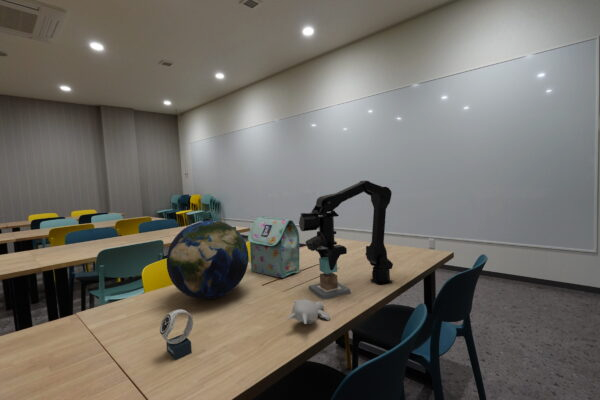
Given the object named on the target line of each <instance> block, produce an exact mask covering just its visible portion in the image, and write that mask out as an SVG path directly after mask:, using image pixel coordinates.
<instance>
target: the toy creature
mask: <svg viewBox="0 0 600 400" xmlns="http://www.w3.org/2000/svg"><path fill="white" fill-rule="evenodd" d="M293 302H294V304H293V306H292V309H291V314H290V315H289V316H288V317H287V318H285V321H288V320H290V319H294V320H297V321H298V322H300V323H303V324H304V325H311V324H313V323H314V322H315V321H317V319H318V316H319V317H320V318H322V319H324V320H326V321H329V320H330V319H331V317H330V315H329V314H328V313H327V312H325V311H324V310H323V309H324V308H325V305H324V302H322V301H315V302H314V301H312V300H310V299H300V300H299V299H294V300H293Z"/></svg>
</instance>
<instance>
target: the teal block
mask: <svg viewBox="0 0 600 400" xmlns="http://www.w3.org/2000/svg"><path fill="white" fill-rule="evenodd" d="M318 262H319V264H318V265H319V271H320V272H322V273H325V274H328V273H337V272H338V261H337V262H336V265H335V267H334V269H333V270H330V266H329V259H328V257H322V258H321V257H318Z"/></svg>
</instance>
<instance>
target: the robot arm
mask: <svg viewBox="0 0 600 400" xmlns="http://www.w3.org/2000/svg"><path fill="white" fill-rule="evenodd" d="M363 193H365V194H366V195H368V196H370V202H371V204H372V207H373V214H372V215H373V217H372V231H371V242H370V244H369V245H366V246H365V257H366V260H367V261H368V262H369V264H370V266H371V267H372V271H371V274H372V275H371V277H372V278H370V281H371V282H374V283H376V284H377V285H380V286H381V285H386V284H390V283H393V280H391V278H390V277H391V275H390V273H391V272H390V270H392V269H393V265H394V264H393V262H392V261H391V260H390V259H389V258H388V252H387V248H386V246H385V231H386V230H385V229H386V218H387V217H386V215H387V208H388V206H389V205H390V203H391V200H392V195H393V194H392V190H391V189H390V187H388V186H382V185H379V184H376V183H373V182H371V181H369V180H360V181H359V182H356V183H355V184H353V185H351V186H348V187H347V188H344V189H342V190H340V191H338V192H335V193H330V194H325V195H322V196H319V197H318V198H317V199H316V203H315V205H314V207H313V208H312V210H311V212H301V213H300V217H299V220H298V226H299V229H300V231H301V232H310V231H316V230H318V231H316V235H315V236H313V237H310V238H308V239H307V240H306V241H305V245H306V247H307V249H308V250H310V251H312V252H314V251H316V252H317V254H318V255H319V258H322V257H328V259H329V266H330V270H333V269H334V267H335V265H336V262H337V263H338V260H339V258H340V256H342V255H346V254H348V251H347V250H348V249H347V247H346V245H345V246H344V245H341V244H338V242H337V241H336V240H335V235H336V234H337V230H335V223H334V222H335V221H334V217H335V218H337V217H339V214H338V213H337V212H336V211H335V209H336V208H338V207H339V206H340V205H341V204H342V203H344V202H345V201H348V200H351V199H352V198H353V197H356V196H358V195H361V194H363Z"/></svg>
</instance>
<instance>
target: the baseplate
mask: <svg viewBox="0 0 600 400" xmlns="http://www.w3.org/2000/svg"><path fill="white" fill-rule="evenodd" d="M308 290H309V291H311V292H312V293H313V294H315V295H316V296H317V297H318V298H321V300H327V299H332V298H335V297H340V296H345V295H348V294H349V295H350V294H351V292H352V290H351V288H350V287H347V286H345V285H343V284H342V283H340V282H338V288H335V289H331V290H325V289H323V288H322V287H320V282H318V283H315V284H310V285H308Z"/></svg>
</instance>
